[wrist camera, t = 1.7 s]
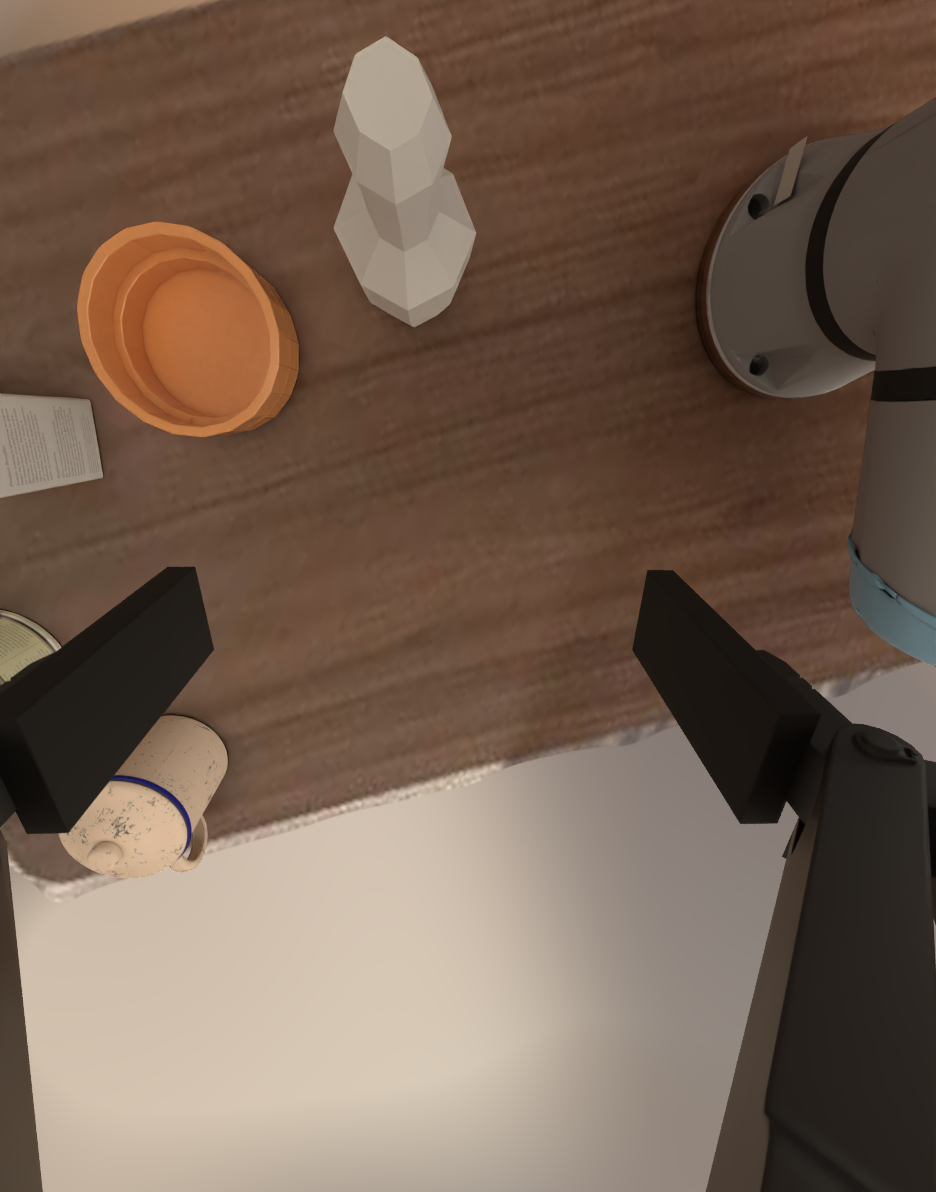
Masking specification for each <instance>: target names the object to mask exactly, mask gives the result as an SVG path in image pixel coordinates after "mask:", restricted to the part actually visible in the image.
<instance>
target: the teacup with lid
mask: <svg viewBox="0 0 936 1192" xmlns="http://www.w3.org/2000/svg"><path fill="white" fill-rule="evenodd" d="M227 765H228V757H227V752H226V748H225V746H224V744H223V742H222V741H221V739H220V738H219V737H218V735H217V734H216V733H215V732H214V731H213V730H211V729H210V728H209V727H207V726H206V725H204V724H203V723H201V722H199V721H196V720H194V719H191V718H187V717H183V716H174V715H168V716H161V717H160V718H159V720H158V721H157V722H156V723H155V725H154V726H153V727H152V728H151V730H150V731H149V732H148V733H147V735H146V736H145V737H144V738H143V740H142V741H141V742H140V744H139V745H138V746H137V747H136V749H135V750H134V751H133V752H132V754H131V755H130V756H129V757H128V759H127V760H126V761H125V762H124V764H123V765H122V766H121V767H120V769H119V770H118V771H117V773H116V774H115V775H114V776H113V778H112V779H111V780H110V781H109V783H108V784H107V785H106V786H105V788H104V789H103V790H102V791H101V793H100V794H99V795H98V797H97V798H96V799H95V800H94V802H93V803H92V804H91V805H90V807H89V808H88V809H87V810H86V812H85V813H84V814H83V815H82V817H81V818H80V819H79V820H78V822H77V823H76V824H75V826H74V827H73V828H72V829H71V831H70V832H69V833H59V837H60V839H61V842H62V844H63V845H64V847H65V849H66V850H67V851H68V852H69V854H70V855H71V856H72V857H73V858H74V859H76V860H77V861H78V862H79V863H81V864H82V865H84V866H85V867H87V868H89V869H91V870H93V871H95V872H98V873H101V874H104V875H107V876H112V877H118V878H139V877H145V876H149V875H153V874H155V873H158V872H160V871H162V870H164V869H166V868H168V867H170V868H171V869H173V870H175V871H177V872H185V871H188V870H191V869H193V868H195V867H196V866H197V865H198V864H199V863H200V861H201V859H202V858H203V855H204V853H205V850H206V845H207V826H206V822H205V820H204V817H203V815H202V814H203V812H204V811H205V809H206V807H207V805H208V804H209V802H210V800H211V798H212V797H213V795H214V793H215V791H216V789H217V788H218V786H219V784H220V782H221V781H222V779H223V777H224V775H225V773H226V770H227ZM191 834H192V837H193V839H192V848H191V852H190V854H189V857H188V859H186V858H184V857H183V853H184V852H185V851H186V849H187V847H188V845H189V843H190V839H191Z"/></svg>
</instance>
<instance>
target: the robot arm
mask: <svg viewBox="0 0 936 1192" xmlns="http://www.w3.org/2000/svg"><path fill="white" fill-rule="evenodd" d="M807 137H808V136H806V137H805V138H804V139H802V140H801V141H800V142H798V143H797V144H796V145H794V146H793V147H791V148H790V149H789V153H788V154H787V155H786V156H784V157H783V158H781V159H780V160H778V161H777V162H775V163H774V164H773V165H771V166H770V167H768V168H767V169H766V170H764V171H763V172H762V173H760V174H759V175H758V176H757V177H755V178H754V179H753V180H752V181H751V182H750V183H749V184H747V185H746V186H745V187H744V188H743V189H742V190H741V191H740V193H739V194H738V195H737V196H736V197H735V198H734V199H733V201H732V202H731V203H730V205H729V206H728V208H727V209H726V210H725V212H724V213H723V215H722V217H721V218H720V220H719V221H718V223H717V225H716V227H715V229H714V231H713V233H712V235H711V237H710V240H709V242H708V245H707V247H706V250H705V253H704V256H703V260H702V264H701V268H700V272H699V278H698V285H697V317H698V323H699V329H700V333H701V336H702V340H703V342H704V345H705V348H706V350H707V352H708V354H709V356H710V358H711V360H712V361H713V363H714V364H715V366H716V367H717V368H718V370H719V371H720V372H721V373H722V374H723V375H724V376H725V377H726V378H727V379H728V380H729V381H730V382H731V383H733V384H734V385H735V386H737V387H739V388H740V389H742V390H744V391H746V392H748V393H751V394H753V395H756V396H760V397H764V398H771V399H791V398H807V397H813V396H817V395H821V394H825V393H828V392H830V391H833V390H836V389H838V388H840V387H842V386H844V385H846V384H848V383H850V382H852V381H854V380H856V379H857V378H859V377H861V376H863V375H865V374H867V373H869V372H871V371H873V370H875V371H874V379H873V387H872V396H871V399H870V406H869V414H868V422H867V431H866V439H865V447H864V454H863V461H862V468H861V475H860V482H859V489H858V496H857V503H856V510H855V517H854V524H853V529H852V531H851V534H850V535H849V537H848V550H849V555H850V556H851V566H850V581H849V596H850V600H851V604H852V606H853V608H854V610H855V611H856V613H857V614H858V615H859V616H860V617H861V618H862V619H863V620H864V621H865V623H866V625H867V627H868V628H869V629H870V630H872V631H873V632H874V633H875V634H876V635H878V636H879V637H880V638H882V639H883V640H885V641H886V642H887V643H889V644H891V645H892V646H894V647H896V648H897V649H899V650H901V651H903V652H904V653H906V654H908V655H910V656H912V657H914V658H917V659H919V660H921V661H923V662H926V663H928V664H930V665H933V666H935V667H936V97H935V98H934V99H932V100H931V101H929V102H927V103H926V104H924V105H923V106H921V107H920V108H918V109H916V110H915V111H913V112H912V113H910V114H909V115H907V116H906V117H904V118H903V119H901V120H900V121H898V122H896V123H895V124H893V125H891V126H890V127H888V128H885V129H879V130H874V131H868V132H862V133H856V134H850V135H844V136H839V137H833V138H827V139H822V140H819V141H815V142H812V143H809V144H807V145H805V144H806V140H807ZM213 650H214V647H213V643H212V639H211V634H210V630H209V625H208V621H207V617H206V612H205V608H204V604H203V599H202V595H201V590H200V586H199V582H198V577H197V573H196V569H195V567H167V568H165V569H164V570H163V571H162V572H160V573H159V574H158V575H156V576H155V577H154V578H152V579H151V580H150V581H148V582H147V583H146V584H144V585H143V586H142V587H140V588H139V589H138V590H136V591H135V592H134V593H133V594H131V595H130V596H129V597H127V598H126V599H125V600H123V601H122V602H121V603H119V604H118V605H117V606H115V607H114V608H113V609H111V610H110V611H109V612H107V613H106V614H105V615H104V616H102V617H101V618H100V619H98V620H97V621H96V622H94V623H93V624H92V625H90V626H89V627H88V628H86V629H85V630H84V631H82V632H81V633H80V634H79V635H77V636H76V637H75V638H73V639H72V640H71V641H69V642H68V643H67V644H65V645H64V646H63V647H61V648H60V649H59V650H57V651H56V652H53V653H51V654H49V655H47V656H45V657H43V658H41V659H39V660H37V661H35V662H32V663H30V664H29V665H27V666H26V667H25V668H23V669H22V670H21V671H19V672H18V673H17V674H15V675H14V676H13V677H11V678H10V681H6V682H4V683H3V684H2V685H0V827H1V826H2V825H3V824H4V823H5V822H6V821H7V819H8V818H9V817H10V816H11V815H12V814H13V813H14V812H15V811H16V813H17V815H18V817H19V819H20V821H21V823H22V825H23V827H24V829H25V831H26V833H27V834H44V833H69V832H70V831H71V829H72V828H73V827H74V826H75V824H76V823H77V822H78V820H79V819H80V818H81V817H82V815H83V814H84V813H85V812H86V810H87V809H88V808H89V807H90V805H91V804H92V803H93V802H94V800H95V799H96V798H97V797H98V795H99V794H100V793H101V791H102V790H103V789H104V788H105V786H106V785H107V784H108V783H109V781H110V780H111V779H112V778H113V776H114V775H115V774H116V773H117V771H118V770H119V769H120V767H121V766H122V765H123V764H124V762H125V761H126V760H127V759H128V757H129V756H130V755H131V754H132V752H133V751H134V750H135V749H136V747H137V746H138V745H139V744H140V742H141V741H142V740H143V738H144V737H145V736H146V735H147V733H148V732H149V731H150V730H151V728H152V727H153V726H154V725H155V723H156V722H157V721H158V720H159V718H160V717H161V716H162V715H163V713H164V712H165V711H166V709H167V708H168V707H169V706H170V704H171V703H172V702H173V701H174V699H175V698H176V697H177V696H178V694H179V693H180V692H181V691H182V689H183V688H184V687H185V685H186V684H187V683H188V682H189V680H190V679H191V678H192V677H193V675H194V674H195V673H196V672H197V670H198V669H199V668H200V667H201V665H202V664H203V663H204V662H205V660H206V659H207V658H208V656H209V655H210V654H211V653H212V651H213ZM632 650H633V652H634V653H635V655H636V657H637V658H638V660H639V661H640V663H641V665H642V666H643V668H644V669H645V671H646V673H647V674H648V676H649V677H650V679H651V681H652V682H653V684H654V686H655V687H656V689H657V690H658V692H659V694H660V695H661V697H662V698H663V700H664V702H665V703H666V705H667V706H668V708H669V710H670V711H671V713H672V715H673V716H674V718H675V719H676V721H677V723H678V724H679V726H680V727H681V729H682V731H683V732H684V734H685V735H686V737H687V739H688V740H689V742H690V744H691V745H692V747H693V748H694V750H695V752H696V753H697V755H698V756H699V758H700V760H701V761H702V763H703V765H704V766H705V767H706V769H707V771H708V773H709V774H710V776H711V777H712V779H713V781H714V782H715V784H716V785H717V787H718V789H719V790H720V792H721V793H722V795H723V797H724V798H725V800H726V802H727V803H728V805H729V806H730V808H731V810H732V811H733V813H734V815H735V816H736V818H737V819H738V821H739V822H740V824H761V823H762V824H764V823H766V824H767V823H778V820H779V818H780V816H781V812H782V811H783V808H784V806H785V803H786V801H787V802H788V803H789V804H790V806H791V807H792V808H793V809H794V811H795V812H796V814H797V815H798V816H799V818H798V821H797V823H796V825H795V828H794V830H793V832H792V835H791V837H790V840H789V842H788V844H787V847H786V849H785V851H784V854H783V856H782V857H784V858H786V863H785V867H784V871H783V876H782V879H781V884H780V888H779V892H778V896H777V900H776V905H775V908H774V912H773V917H772V921H771V925H770V929H769V933H768V938H767V941H766V946H765V950H764V954H763V958H762V962H761V967H760V970H759V974H758V979H757V983H756V987H755V991H754V996H753V999H752V1004H751V1008H750V1012H749V1016H748V1020H747V1024H746V1028H745V1033H744V1036H743V1040H742V1045H741V1049H740V1053H739V1057H738V1061H737V1065H736V1069H735V1073H734V1078H733V1082H732V1086H731V1090H730V1095H729V1098H728V1103H727V1107H726V1111H725V1115H724V1119H723V1123H722V1127H721V1132H720V1136H719V1140H718V1144H717V1148H716V1152H715V1156H714V1161H713V1164H712V1169H711V1173H710V1177H709V1181H708V1185H707V1189H706V1192H936V964H935V945H934V923H933V918H934V921H935V924H936V762H932V761H927V760H924V759H923V757H922V755H921V754H920V753H919V752H918V751H917V750H916V749H915V748H914V747H913V746H912V745H911V744H909V743H907V742H906V741H904V740H903V739H901V738H899V737H898V736H896V735H894V734H891V733H889V732H887V731H884V730H882V729H880V728H876V727H872V726H868V725H864V724H852V723H851V722H850V721H849V720H848V719H847V718H846V717H845V716H844V715H842V713H840V712H839V711H838V710H837V709H836V708H835V707H834V706H833V705H832V704H831V703H830V702H828V701H827V700H826V699H825V698H824V697H823V696H822V695H821V694H820V693H819V692H817V691H816V690H815V689H812V686H811V685H810V684H809V683H808V682H807V681H805V680H804V679H803V678H800V675H799V674H798V673H797V672H796V671H795V670H793V669H792V668H791V667H790V666H789V665H788V664H787V663H786V662H784V661H783V660H781V659H779V658H777V657H775V656H774V655H772V654H770V653H768V652H766V651H765V650H755V649H754V648H753V647H752V646H751V645H750V644H749V643H747V642H746V641H745V640H744V639H743V638H742V637H741V636H740V635H739V634H738V633H737V632H736V631H735V630H734V629H733V628H732V627H731V626H730V625H729V624H728V623H727V622H726V621H725V620H724V619H723V618H722V617H721V616H720V615H719V614H717V613H716V612H715V611H714V610H713V609H712V608H711V607H710V606H709V605H708V604H707V603H706V602H705V601H704V600H703V599H702V598H701V597H700V596H699V595H698V594H697V593H696V592H695V591H694V590H693V589H692V588H691V587H690V586H689V585H687V584H686V583H685V582H684V581H683V580H682V579H681V578H680V577H679V576H678V575H677V574H676V573H675V572H674V571H673V570H647V575H646V580H645V586H644V591H643V596H642V601H641V607H640V612H639V617H638V623H637V628H636V633H635V638H634V644H633V649H632ZM0 1192H43V1190H42V1180H41V1171H40V1161H39V1152H38V1142H37V1133H36V1123H35V1113H34V1104H33V1093H32V1084H31V1075H30V1064H29V1055H28V1045H27V1036H26V1026H25V1016H24V1007H23V997H22V987H21V979H20V968H19V958H18V949H17V939H16V930H15V920H14V910H13V901H12V891H11V881H10V872H9V862H8V852H7V843H6V840H5V838H4V836H3V835H2V833H1V831H0Z"/></svg>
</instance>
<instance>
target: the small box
mask: <svg viewBox="0 0 936 1192" xmlns="http://www.w3.org/2000/svg"><path fill="white" fill-rule="evenodd" d="M101 478H103V473H102V467H101V461H100V455H99V448H98V443H97V437H96V431H95V425H94V419H93V414H92V408H91V402H90V400H88V399H81V398H66V397H48V396H31V395H17V394H2V393H0V498H5V497H10V496H15V495H20V494H25V493H31V492H35V491H40V490H45V489H49V488H54V487H60V486H65V485H71V484H75V483H80V482H85V481H90V480H96V479H101Z"/></svg>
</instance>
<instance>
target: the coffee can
mask: <svg viewBox="0 0 936 1192" xmlns="http://www.w3.org/2000/svg"><path fill="white" fill-rule="evenodd" d="M60 648H61V646H60V645H59V643H58V642H57V641H56V640H55V639H54V638H53V637H52V636H51V635H50V634H49V633H48V632H47V631H46V630H44V629H43V628H42V627H41V626H39V625H38V624H36V623H34V622H32V621H30V620H28V619H27V618H25V617H22V616H20V615H18V614H15V613H12V612H8V611H5V610H0V685H2V684H3V683H4V682H6V681H10V678H11V677H13V676H14V675H15V674H17V673H18V672H19V671H21V670H22V669H23V668H25V667H26V666H27V665H29V664H30V663H32V662H35V661H37V660H39V659H41V658H43V657H45V656H47V655H49V654H51V653H53V652H56V651H57V650H59V649H60Z"/></svg>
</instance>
